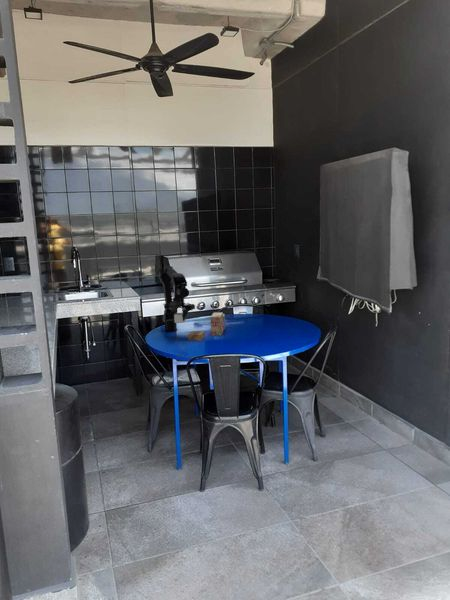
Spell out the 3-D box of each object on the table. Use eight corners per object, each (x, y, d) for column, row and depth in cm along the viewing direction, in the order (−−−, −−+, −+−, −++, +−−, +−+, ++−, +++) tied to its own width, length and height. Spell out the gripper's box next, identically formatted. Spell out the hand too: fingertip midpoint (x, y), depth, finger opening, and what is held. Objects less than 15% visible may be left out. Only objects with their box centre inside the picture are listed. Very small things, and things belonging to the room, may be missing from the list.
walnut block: (188, 340, 273) (188, 334, 272) (192, 337, 281) (192, 331, 280) (200, 341, 271) (200, 335, 270) (205, 337, 278) (204, 331, 278)
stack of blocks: (216, 327, 303) (215, 309, 301) (225, 327, 302) (224, 309, 300) (211, 335, 282) (210, 316, 280) (221, 335, 281) (220, 316, 279)
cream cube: (174, 322, 277) (174, 314, 276) (178, 320, 281) (178, 312, 280) (181, 323, 275) (181, 314, 274) (185, 321, 279) (185, 313, 278)
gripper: (158, 296, 272) (160, 322, 274) (186, 298, 264) (187, 324, 267) (168, 293, 282) (169, 318, 284) (194, 294, 274) (195, 320, 277)
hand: (180, 320), depth 278 cm, fingers closed on cream cube, 5 cm apart
